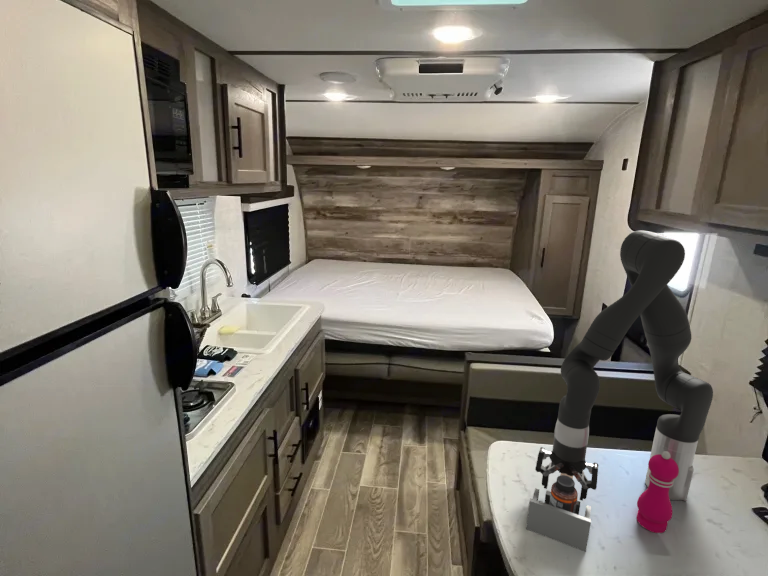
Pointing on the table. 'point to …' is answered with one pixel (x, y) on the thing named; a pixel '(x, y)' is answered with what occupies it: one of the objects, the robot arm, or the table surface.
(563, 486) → the supplement bottle
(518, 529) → the table surface
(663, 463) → the pepper mill
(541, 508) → the grey u-shaped bracket
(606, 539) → the table surface
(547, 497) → the scraper
